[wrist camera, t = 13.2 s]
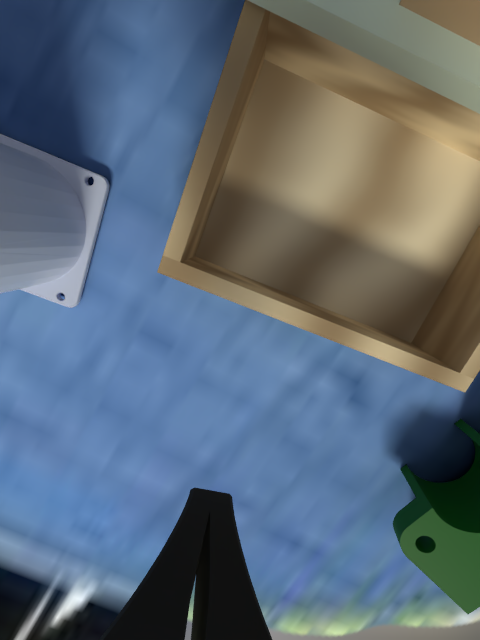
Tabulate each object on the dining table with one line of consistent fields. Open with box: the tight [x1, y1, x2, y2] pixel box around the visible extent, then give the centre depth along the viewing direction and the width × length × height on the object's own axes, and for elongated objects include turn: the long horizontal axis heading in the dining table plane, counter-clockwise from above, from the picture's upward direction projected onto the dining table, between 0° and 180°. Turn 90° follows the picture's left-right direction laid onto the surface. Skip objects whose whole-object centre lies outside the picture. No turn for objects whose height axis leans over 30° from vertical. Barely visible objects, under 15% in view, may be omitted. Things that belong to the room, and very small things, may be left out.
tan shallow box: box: [158, 0, 480, 392], centre depth 15 cm, size 16×17×5 cm
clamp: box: [393, 419, 480, 614], centre depth 19 cm, size 12×6×9 cm, turn 134°
